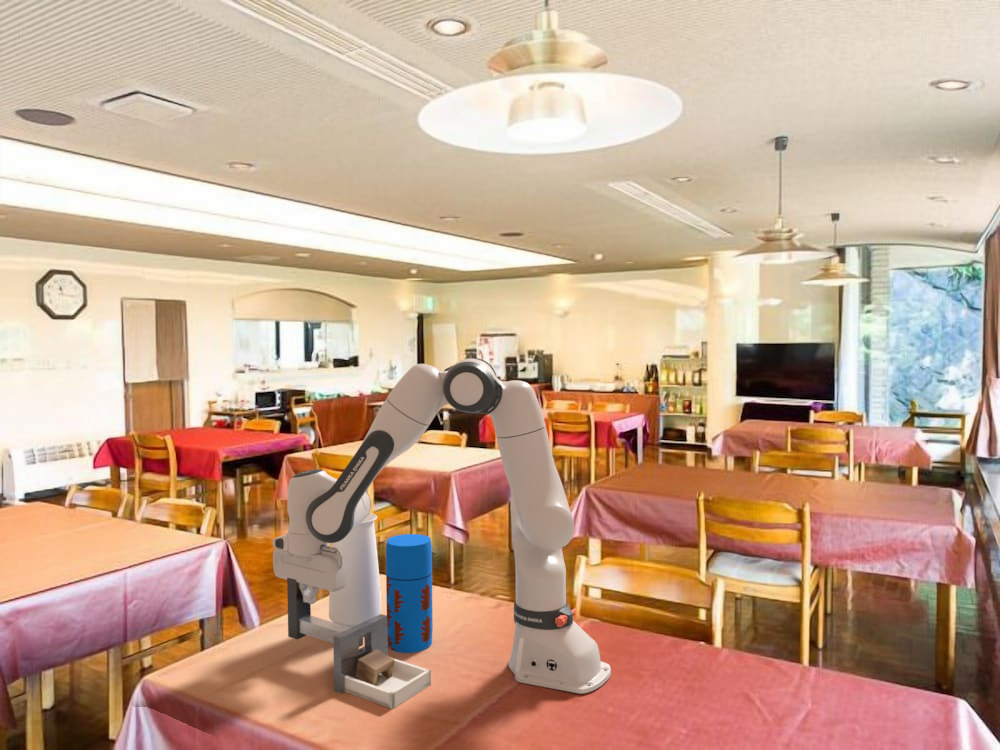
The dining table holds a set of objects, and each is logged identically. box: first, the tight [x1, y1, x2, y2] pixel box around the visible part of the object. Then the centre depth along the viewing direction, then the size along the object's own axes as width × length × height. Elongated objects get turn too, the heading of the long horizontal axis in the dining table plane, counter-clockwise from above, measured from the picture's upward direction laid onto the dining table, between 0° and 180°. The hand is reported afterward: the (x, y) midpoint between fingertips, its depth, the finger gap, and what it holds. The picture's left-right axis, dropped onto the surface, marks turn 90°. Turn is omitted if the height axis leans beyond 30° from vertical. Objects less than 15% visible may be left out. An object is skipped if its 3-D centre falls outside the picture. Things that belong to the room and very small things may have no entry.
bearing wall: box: [333, 613, 389, 694], centre depth 150 cm, size 2×14×12 cm, turn 147°
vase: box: [328, 512, 382, 628], centre depth 177 cm, size 13×13×28 cm
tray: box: [344, 657, 432, 710], centre depth 146 cm, size 13×12×3 cm
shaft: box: [286, 578, 364, 648], centre depth 156 cm, size 20×4×14 cm, turn 56°
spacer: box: [355, 649, 396, 686], centre depth 148 cm, size 5×6×4 cm
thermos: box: [385, 533, 434, 654], centre depth 167 cm, size 11×11×25 cm
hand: (309, 602), depth 158 cm, fingers closed
